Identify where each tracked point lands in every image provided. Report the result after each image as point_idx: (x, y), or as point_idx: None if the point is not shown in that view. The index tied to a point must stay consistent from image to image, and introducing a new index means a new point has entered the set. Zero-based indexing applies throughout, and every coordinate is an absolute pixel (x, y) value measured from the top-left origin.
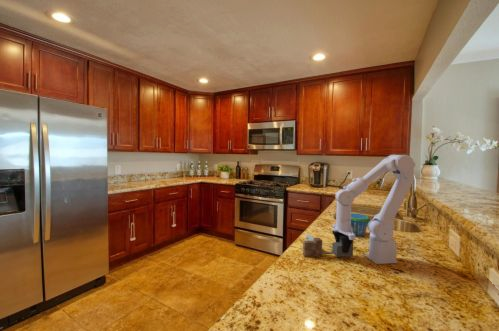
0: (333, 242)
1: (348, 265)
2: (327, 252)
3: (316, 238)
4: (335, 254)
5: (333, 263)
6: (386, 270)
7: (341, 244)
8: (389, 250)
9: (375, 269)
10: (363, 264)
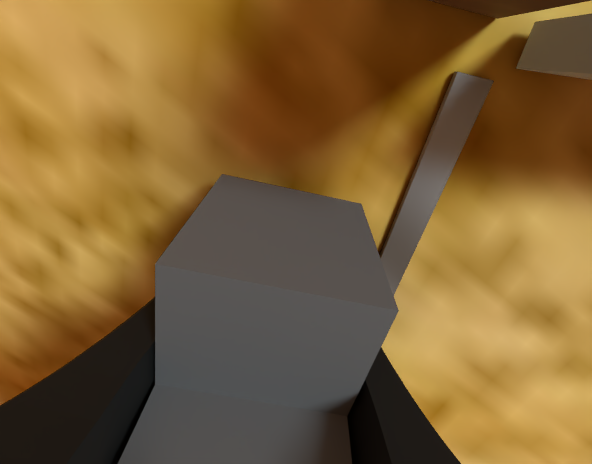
0: (380, 324)
1: (71, 190)
2: (435, 172)
3: None
4: (263, 188)
5: (126, 25)
6: (4, 392)
7: (232, 387)
8: None
9: (9, 346)
10: (95, 328)
